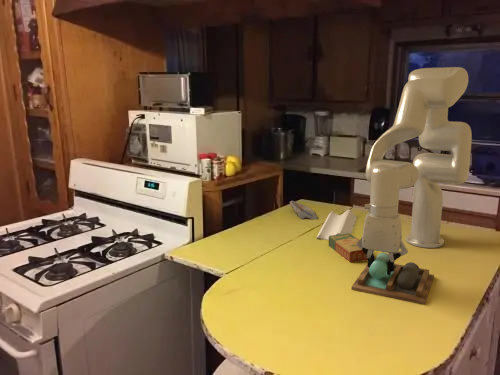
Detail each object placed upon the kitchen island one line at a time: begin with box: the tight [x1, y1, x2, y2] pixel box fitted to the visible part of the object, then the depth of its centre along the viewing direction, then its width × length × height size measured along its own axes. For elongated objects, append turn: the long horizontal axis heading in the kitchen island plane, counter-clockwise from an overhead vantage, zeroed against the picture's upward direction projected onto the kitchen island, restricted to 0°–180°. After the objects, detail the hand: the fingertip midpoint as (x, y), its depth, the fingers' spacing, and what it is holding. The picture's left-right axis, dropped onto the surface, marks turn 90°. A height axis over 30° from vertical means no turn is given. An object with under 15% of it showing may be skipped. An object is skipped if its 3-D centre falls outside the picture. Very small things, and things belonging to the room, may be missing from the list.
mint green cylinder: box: [369, 252, 389, 279], centre depth 124 cm, size 9×4×4 cm, turn 151°
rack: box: [351, 263, 435, 306], centre depth 123 cm, size 18×19×2 cm
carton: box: [328, 233, 368, 263], centre depth 146 cm, size 8×16×4 cm, turn 15°
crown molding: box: [315, 209, 358, 241], centre depth 171 cm, size 31×12×4 cm, turn 161°
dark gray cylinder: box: [397, 261, 420, 290], centre depth 121 cm, size 9×4×4 cm, turn 151°
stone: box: [289, 200, 318, 220], centre depth 189 cm, size 17×5×10 cm
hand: (380, 270), depth 124 cm, fingers closed on mint green cylinder, 4 cm apart
